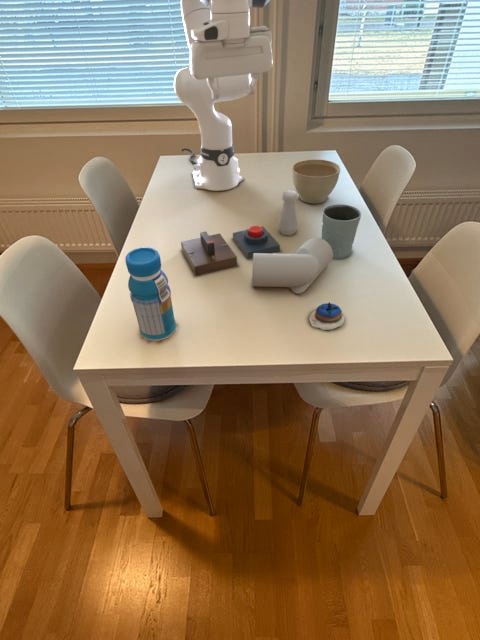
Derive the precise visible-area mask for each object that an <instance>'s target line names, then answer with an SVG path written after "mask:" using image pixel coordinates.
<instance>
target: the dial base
mask: <svg viewBox="0 0 480 640" xmlns="http://www.w3.org/2000/svg"><path fill="white" fill-rule="evenodd" d="M209 237H210V238H211V240H212V241H213V242H214V249H215V254H214V255H210V256H209V255H208V254H207V252H206V250H205V249H204V247H203V246H202V244H201V237H196V238H192V239H188V240H187V239H186V240H183V241H180V246H181V247H180V248H181V251H182V253H183V255H184V257H185V259H186V261H187V263H188V265H189V267H190V268H191V270H192V272H193V274H194V276H196V277H198V276H201V275H205V274H210V273H214V272H218V271H222V270H227V269H230V268H234V267H238V256H237V255H236V254H235V252H234V251H233V250H232V248H231V247H230V245H229V244H228V243H227V241H226V240H225V238H224V237H223V236H222V233H214V234H209Z"/></svg>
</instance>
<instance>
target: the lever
mask: <svg viewBox="0 0 480 640" xmlns="http://www.w3.org/2000/svg"><path fill="white" fill-rule="evenodd" d="M209 236H210V234H209V233H208V232H207V231H201V232H200V233H199V238H201V244H202V246H203V247H204V249H205V250H206V252H207V254H208V255H209V256H210V255H214V254H215V249H214V242H213V241H212V240H211V238H210V237H209Z"/></svg>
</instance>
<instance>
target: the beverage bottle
mask: <svg viewBox="0 0 480 640" xmlns="http://www.w3.org/2000/svg"><path fill="white" fill-rule="evenodd" d="M124 259H125V265H126V269H127V272H128V274H129V275H130V276H129V278H128V284H127V287H128V290H129V297H130V301H131V303H132V306H133V309H134V313H135V317H136V320H137V324H138V328H139V332H140V335H141V336H142V337H143V338H144V339H146V340H148V341H153V342H159V341H163V340H166V339H168V338H169V337H171V336H172V335H173V334H174V333H175V331H176V328H177V323H176V319H175V316H174V315H175V314H174V307H173V304H172V303H173V301H172V297H171V294H172V291H171V288H170V285H169V279H168V276H167V275H166V273H165V272H164V271H163V270H162V260H161V255H160V253H159V251H158V250H157V249H156V248H153V247H148V246H143V247H137V248H135V249H132V250H130V251H129V252H128V253H127V254H126V255H125V258H124Z"/></svg>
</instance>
